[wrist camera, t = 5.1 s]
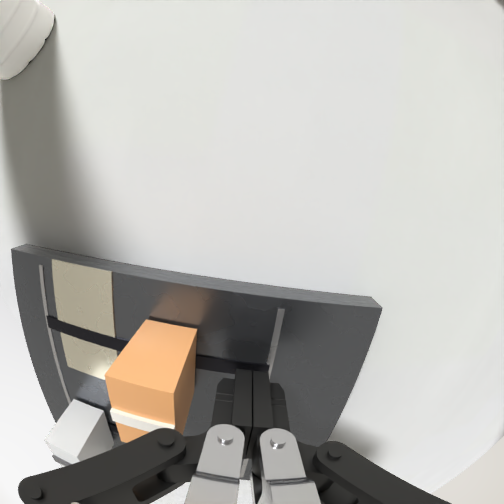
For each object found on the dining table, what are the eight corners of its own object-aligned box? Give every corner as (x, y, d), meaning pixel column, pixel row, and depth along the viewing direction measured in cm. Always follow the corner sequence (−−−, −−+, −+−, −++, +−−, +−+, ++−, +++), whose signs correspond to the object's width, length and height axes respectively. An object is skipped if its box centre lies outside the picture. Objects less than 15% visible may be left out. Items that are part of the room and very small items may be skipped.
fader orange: (197, 329, 12) (172, 397, 7) (194, 391, 13) (176, 459, 8) (146, 319, 12) (102, 378, 7) (149, 382, 13) (119, 444, 8)
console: (371, 296, 13) (383, 308, 12) (300, 467, 17) (303, 481, 15) (26, 244, 13) (10, 249, 11) (65, 418, 16) (58, 429, 15)
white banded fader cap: (103, 410, 13) (75, 459, 9) (114, 443, 14) (93, 487, 10) (73, 398, 13) (42, 441, 9) (86, 432, 14) (63, 472, 10)
